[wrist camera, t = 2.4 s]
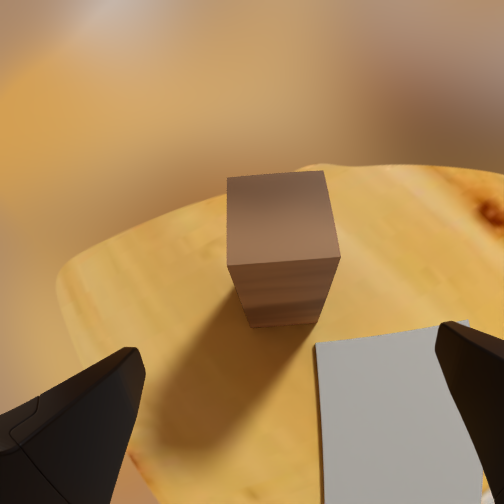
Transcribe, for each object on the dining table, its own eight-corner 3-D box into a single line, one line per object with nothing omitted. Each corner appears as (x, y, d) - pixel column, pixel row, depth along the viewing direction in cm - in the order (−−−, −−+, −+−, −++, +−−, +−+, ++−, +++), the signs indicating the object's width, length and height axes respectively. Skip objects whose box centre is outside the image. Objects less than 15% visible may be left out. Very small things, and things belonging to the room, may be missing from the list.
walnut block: (317, 322, 21) (341, 256, 12) (250, 327, 22) (226, 265, 13) (310, 263, 23) (323, 170, 14) (248, 267, 24) (227, 177, 15)
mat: (478, 512, 12) (479, 513, 12) (324, 557, 13) (324, 559, 13) (466, 320, 20) (468, 319, 20) (315, 343, 21) (315, 342, 20)
